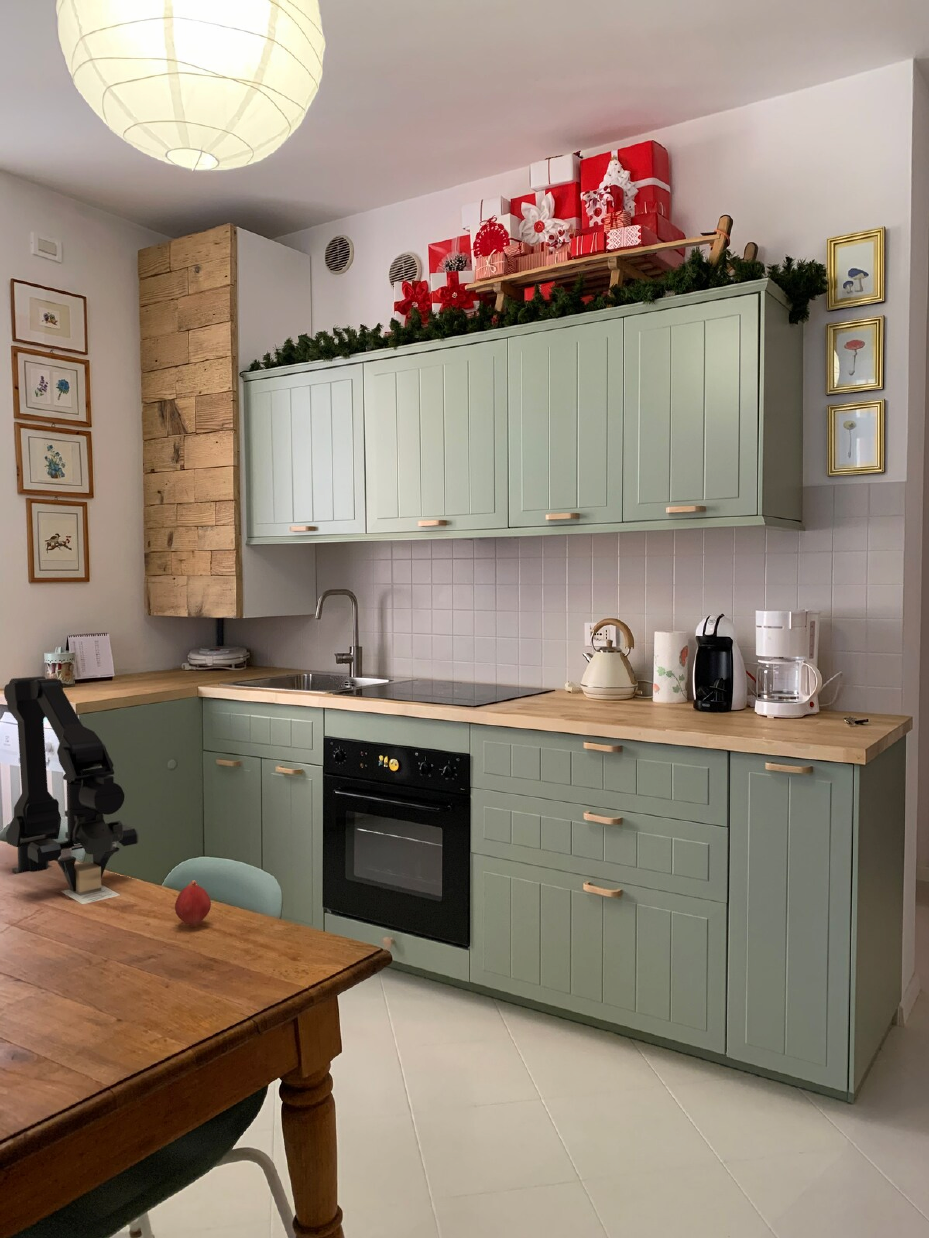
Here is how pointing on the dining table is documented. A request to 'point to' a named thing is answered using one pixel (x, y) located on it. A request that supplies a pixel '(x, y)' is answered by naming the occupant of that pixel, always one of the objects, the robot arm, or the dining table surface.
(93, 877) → the block
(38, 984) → the dining table surface
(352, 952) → the dining table surface
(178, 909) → the onion
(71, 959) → the dining table surface
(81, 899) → the board
